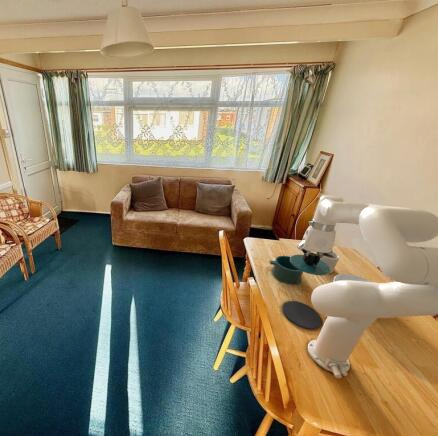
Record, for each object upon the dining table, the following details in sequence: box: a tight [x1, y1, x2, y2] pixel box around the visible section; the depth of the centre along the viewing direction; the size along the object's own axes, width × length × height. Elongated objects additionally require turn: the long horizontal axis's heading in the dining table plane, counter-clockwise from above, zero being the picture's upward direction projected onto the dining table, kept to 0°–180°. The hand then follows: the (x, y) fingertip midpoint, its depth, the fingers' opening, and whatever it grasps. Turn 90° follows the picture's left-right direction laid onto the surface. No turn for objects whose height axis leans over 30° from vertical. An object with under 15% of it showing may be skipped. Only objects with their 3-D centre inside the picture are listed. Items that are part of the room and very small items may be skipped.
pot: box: [269, 255, 304, 285], centre depth 125 cm, size 14×19×8 cm
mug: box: [320, 251, 340, 274], centre depth 130 cm, size 11×10×10 cm
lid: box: [290, 251, 330, 276], centre depth 100 cm, size 15×15×6 cm
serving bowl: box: [332, 273, 373, 282], centre depth 109 cm, size 21×21×7 cm
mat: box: [281, 300, 323, 330], centre depth 102 cm, size 15×15×1 cm
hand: (309, 262), depth 100 cm, fingers closed on lid, 3 cm apart
